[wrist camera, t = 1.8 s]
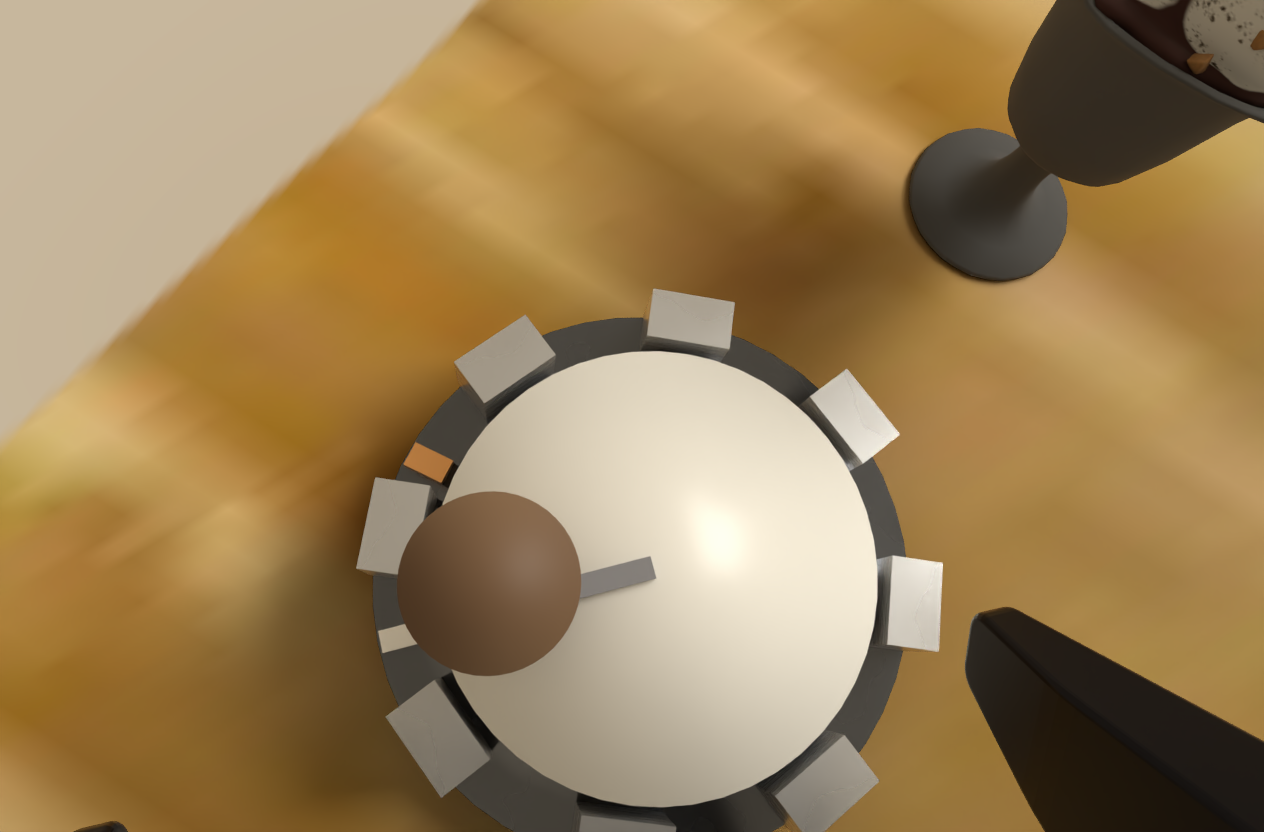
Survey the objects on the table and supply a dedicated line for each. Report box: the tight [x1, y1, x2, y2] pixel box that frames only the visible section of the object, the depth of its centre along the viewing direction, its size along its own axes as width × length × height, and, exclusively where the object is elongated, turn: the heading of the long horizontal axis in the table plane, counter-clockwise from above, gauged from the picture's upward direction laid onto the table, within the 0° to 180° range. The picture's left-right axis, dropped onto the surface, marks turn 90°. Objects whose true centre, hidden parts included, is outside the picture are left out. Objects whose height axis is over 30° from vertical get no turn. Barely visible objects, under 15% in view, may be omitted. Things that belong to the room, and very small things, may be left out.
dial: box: [397, 351, 877, 807], centre depth 17 cm, size 10×10×10 cm
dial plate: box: [356, 288, 943, 832], centre depth 22 cm, size 13×13×3 cm
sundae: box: [910, 0, 1264, 281], centre depth 20 cm, size 7×7×15 cm
